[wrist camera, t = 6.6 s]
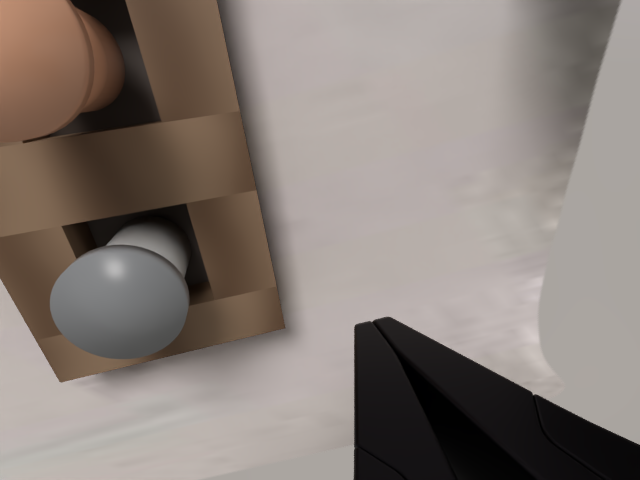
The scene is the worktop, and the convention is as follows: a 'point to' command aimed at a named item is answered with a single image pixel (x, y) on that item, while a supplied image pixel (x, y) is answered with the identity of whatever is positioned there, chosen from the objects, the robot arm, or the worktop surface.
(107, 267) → the plug grey
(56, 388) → the worktop surface
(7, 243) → the socket board
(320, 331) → the worktop surface
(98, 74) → the plug terracotta
